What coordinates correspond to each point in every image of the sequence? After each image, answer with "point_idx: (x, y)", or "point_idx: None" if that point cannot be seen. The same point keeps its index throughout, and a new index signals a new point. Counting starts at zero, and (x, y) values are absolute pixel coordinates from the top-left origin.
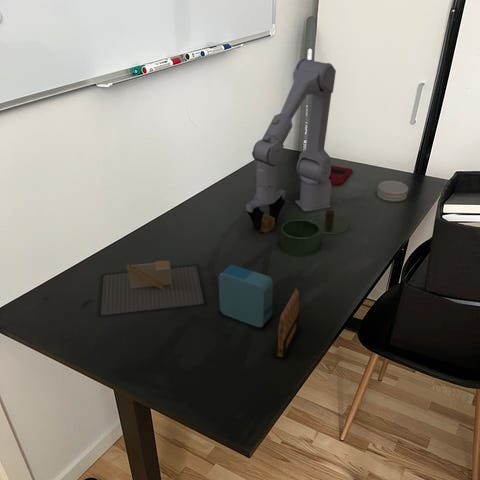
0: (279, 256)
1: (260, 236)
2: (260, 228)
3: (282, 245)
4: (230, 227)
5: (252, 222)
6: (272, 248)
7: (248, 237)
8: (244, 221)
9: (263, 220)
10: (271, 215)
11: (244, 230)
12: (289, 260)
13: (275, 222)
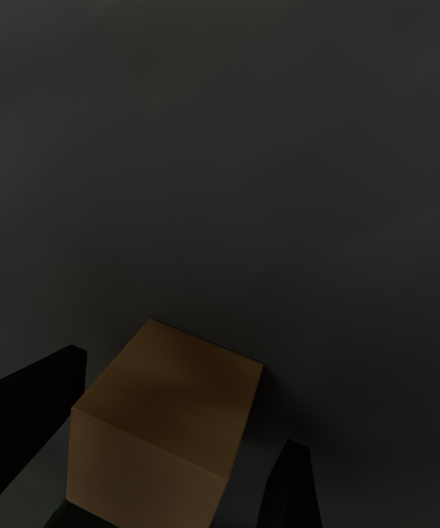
0: (12, 490)
1: (93, 374)
2: (63, 416)
3: (47, 523)
4: (35, 57)
5: (2, 380)
6: (39, 458)
7: (28, 303)
8: (236, 130)
9: (81, 479)
10: (276, 512)
11: (83, 228)
12: (20, 524)
13: (267, 486)
